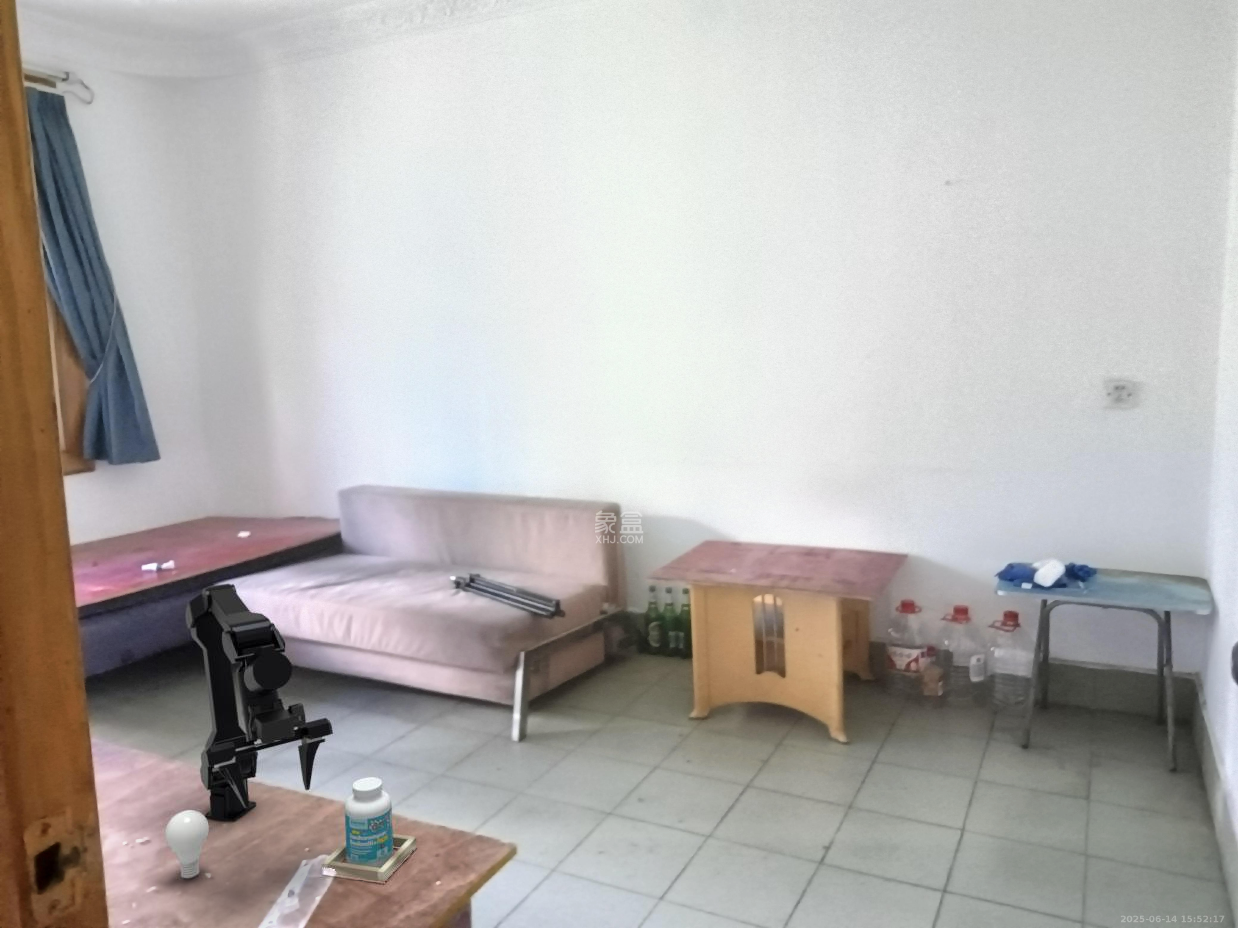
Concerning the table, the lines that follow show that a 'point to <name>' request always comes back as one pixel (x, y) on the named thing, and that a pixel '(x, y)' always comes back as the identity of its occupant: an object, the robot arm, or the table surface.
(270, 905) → the table surface
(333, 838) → the table surface
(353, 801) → the pill bottle
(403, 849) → the wooden collar
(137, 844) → the table surface
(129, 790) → the table surface
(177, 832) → the lightbulb
